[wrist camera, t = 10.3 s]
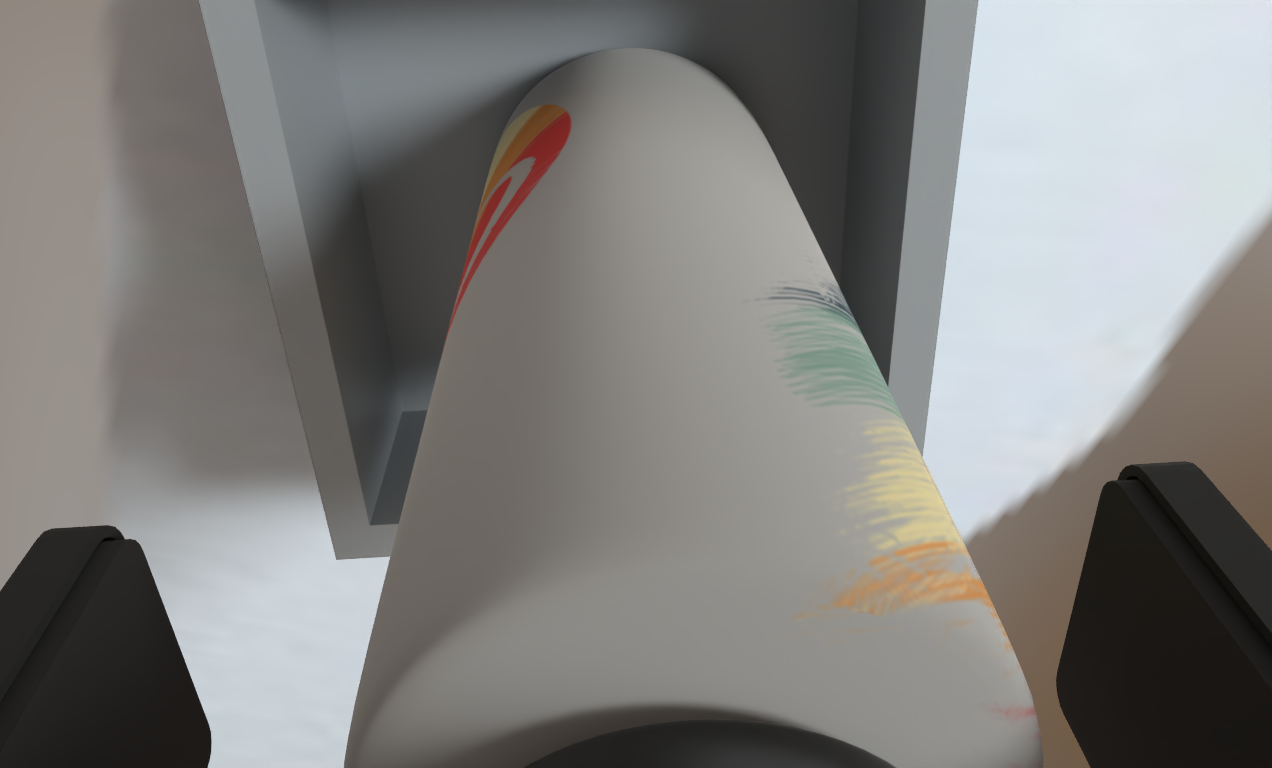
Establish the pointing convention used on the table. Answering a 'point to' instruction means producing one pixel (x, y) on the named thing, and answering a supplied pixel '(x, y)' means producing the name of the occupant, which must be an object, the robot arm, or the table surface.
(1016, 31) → the table surface
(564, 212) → the lotion bottle
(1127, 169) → the table surface
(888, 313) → the box
